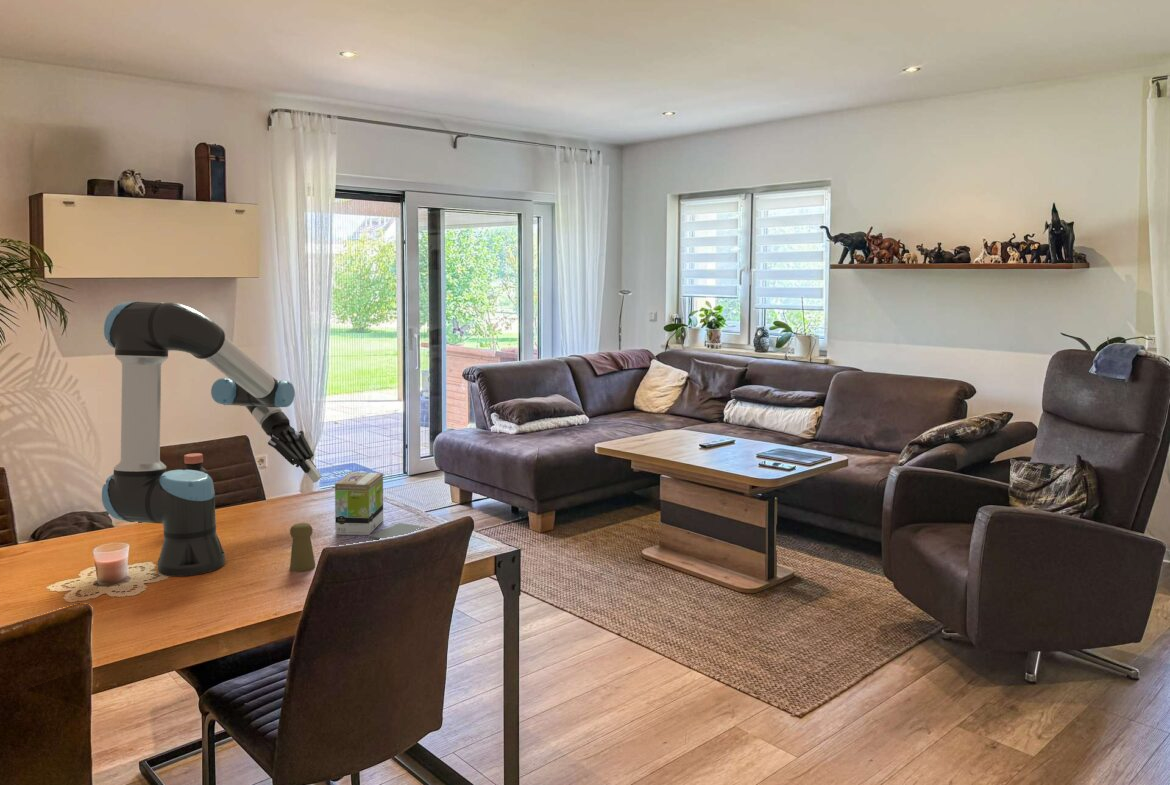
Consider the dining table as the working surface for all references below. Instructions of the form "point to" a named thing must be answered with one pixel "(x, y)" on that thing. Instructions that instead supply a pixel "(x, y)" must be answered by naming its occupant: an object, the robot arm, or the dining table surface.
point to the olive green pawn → (301, 548)
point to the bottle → (194, 462)
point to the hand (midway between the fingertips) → (317, 479)
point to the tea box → (358, 503)
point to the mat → (396, 531)
